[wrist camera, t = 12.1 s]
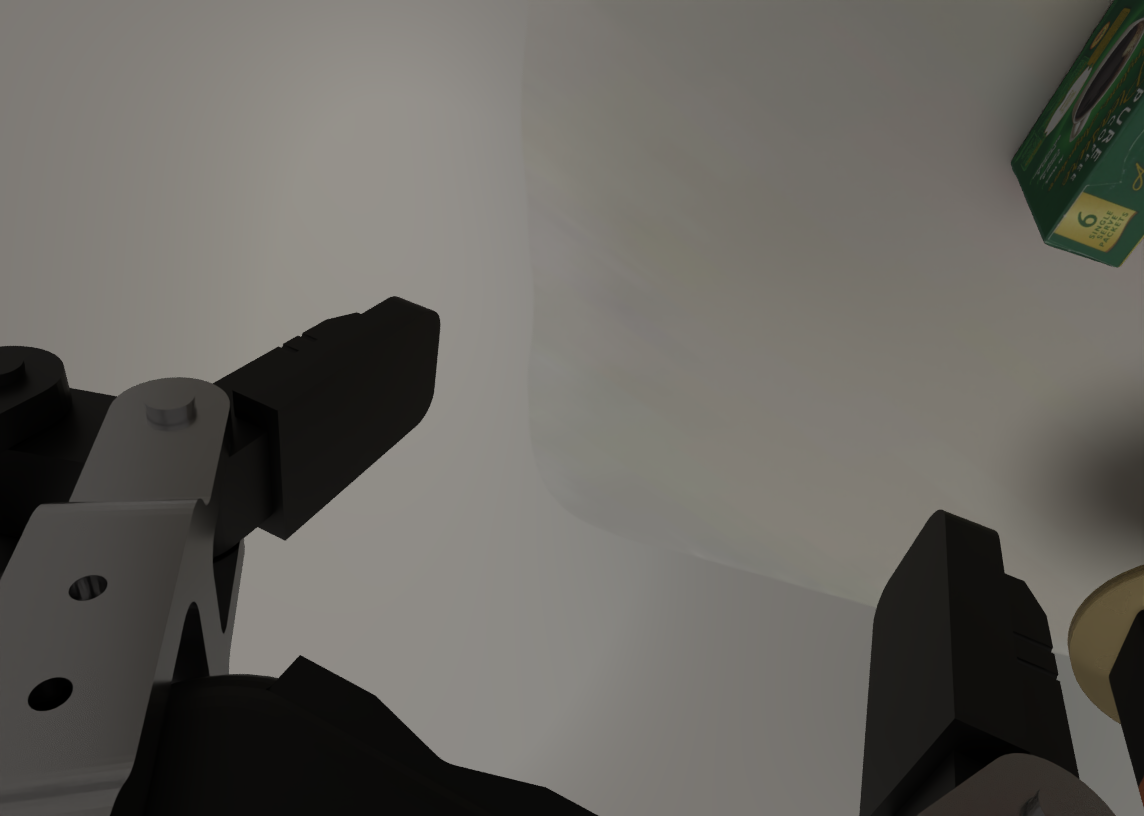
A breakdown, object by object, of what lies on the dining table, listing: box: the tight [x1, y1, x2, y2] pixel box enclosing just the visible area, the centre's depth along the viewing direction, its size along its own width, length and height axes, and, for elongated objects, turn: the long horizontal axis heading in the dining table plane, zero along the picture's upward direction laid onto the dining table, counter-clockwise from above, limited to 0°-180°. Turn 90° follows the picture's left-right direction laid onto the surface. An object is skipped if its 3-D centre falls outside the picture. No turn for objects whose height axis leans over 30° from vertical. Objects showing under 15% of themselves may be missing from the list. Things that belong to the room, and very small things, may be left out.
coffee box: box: [1011, 0, 1144, 267], centre depth 28 cm, size 8×3×13 cm, turn 164°
